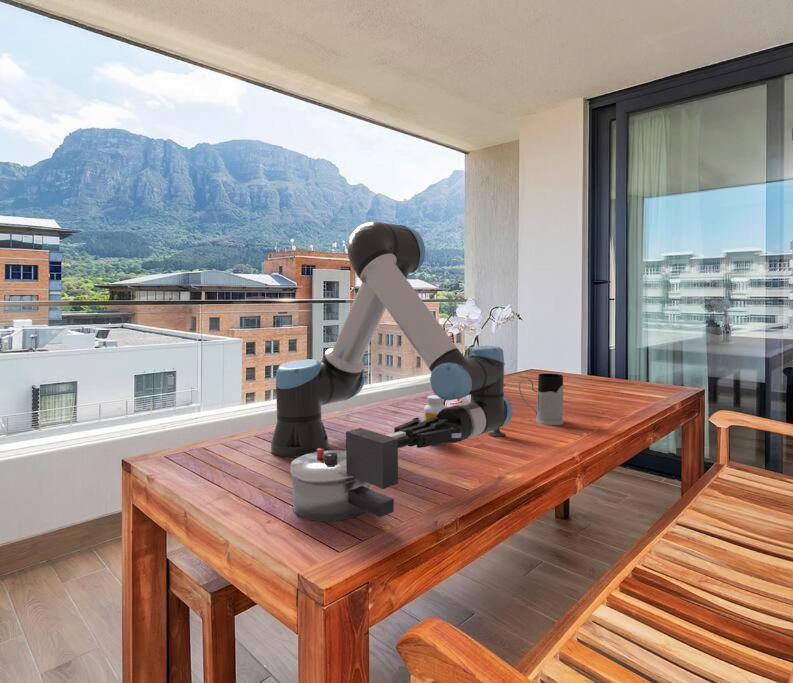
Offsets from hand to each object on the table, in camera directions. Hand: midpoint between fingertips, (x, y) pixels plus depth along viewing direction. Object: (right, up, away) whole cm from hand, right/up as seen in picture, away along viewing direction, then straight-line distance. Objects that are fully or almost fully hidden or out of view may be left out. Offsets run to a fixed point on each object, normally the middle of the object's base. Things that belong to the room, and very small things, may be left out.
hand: (378, 445), depth 93 cm
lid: (-6, -6, +3) cm, 9 cm away
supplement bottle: (+14, -9, +48) cm, 51 cm away
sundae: (+33, -8, +55) cm, 65 cm away
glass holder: (+50, -7, +71) cm, 87 cm away
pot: (-8, -13, +5) cm, 16 cm away
